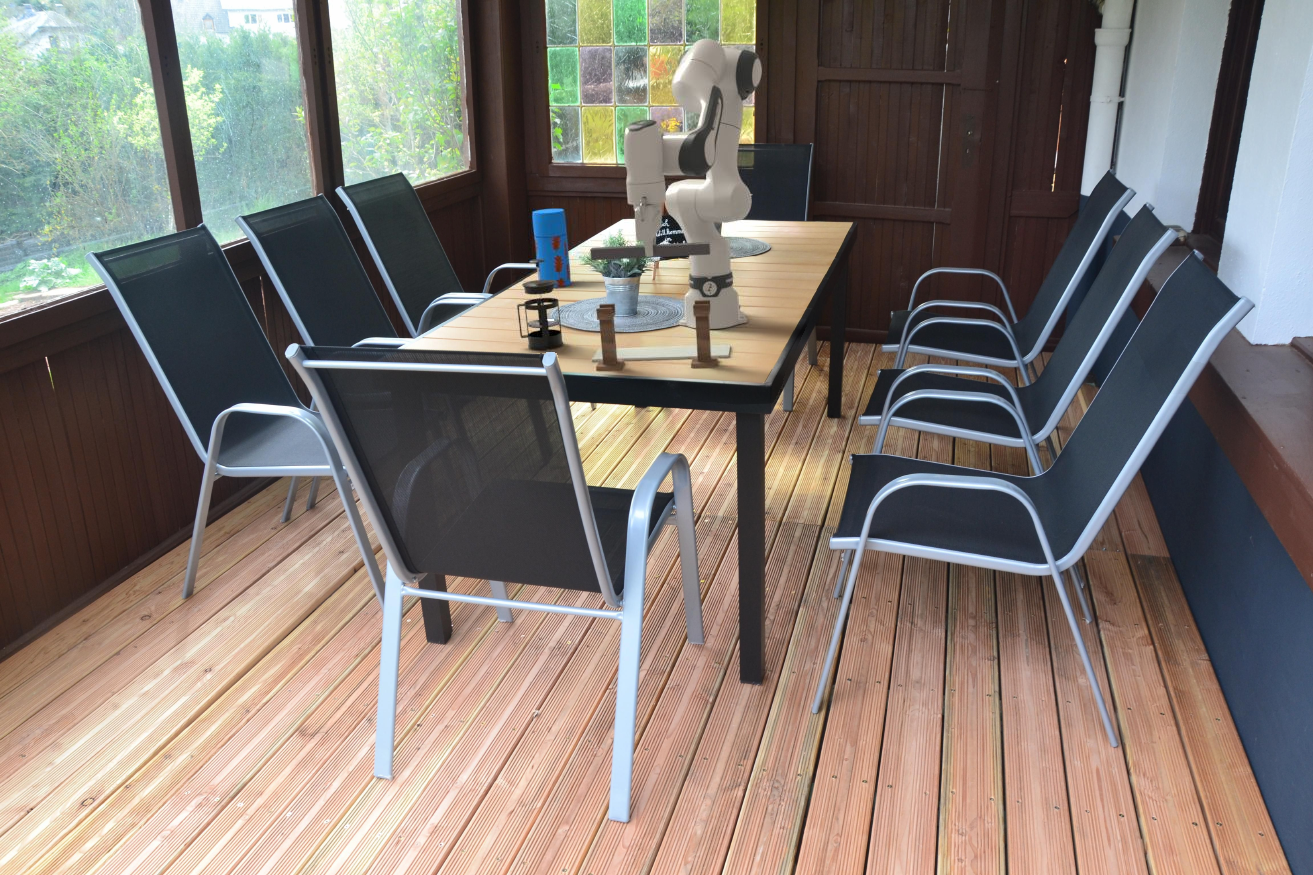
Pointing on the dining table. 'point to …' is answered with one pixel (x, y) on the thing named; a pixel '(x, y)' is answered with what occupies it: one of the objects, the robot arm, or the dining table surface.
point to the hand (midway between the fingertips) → (650, 254)
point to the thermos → (552, 246)
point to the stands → (612, 363)
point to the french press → (541, 314)
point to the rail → (659, 249)
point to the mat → (663, 353)
